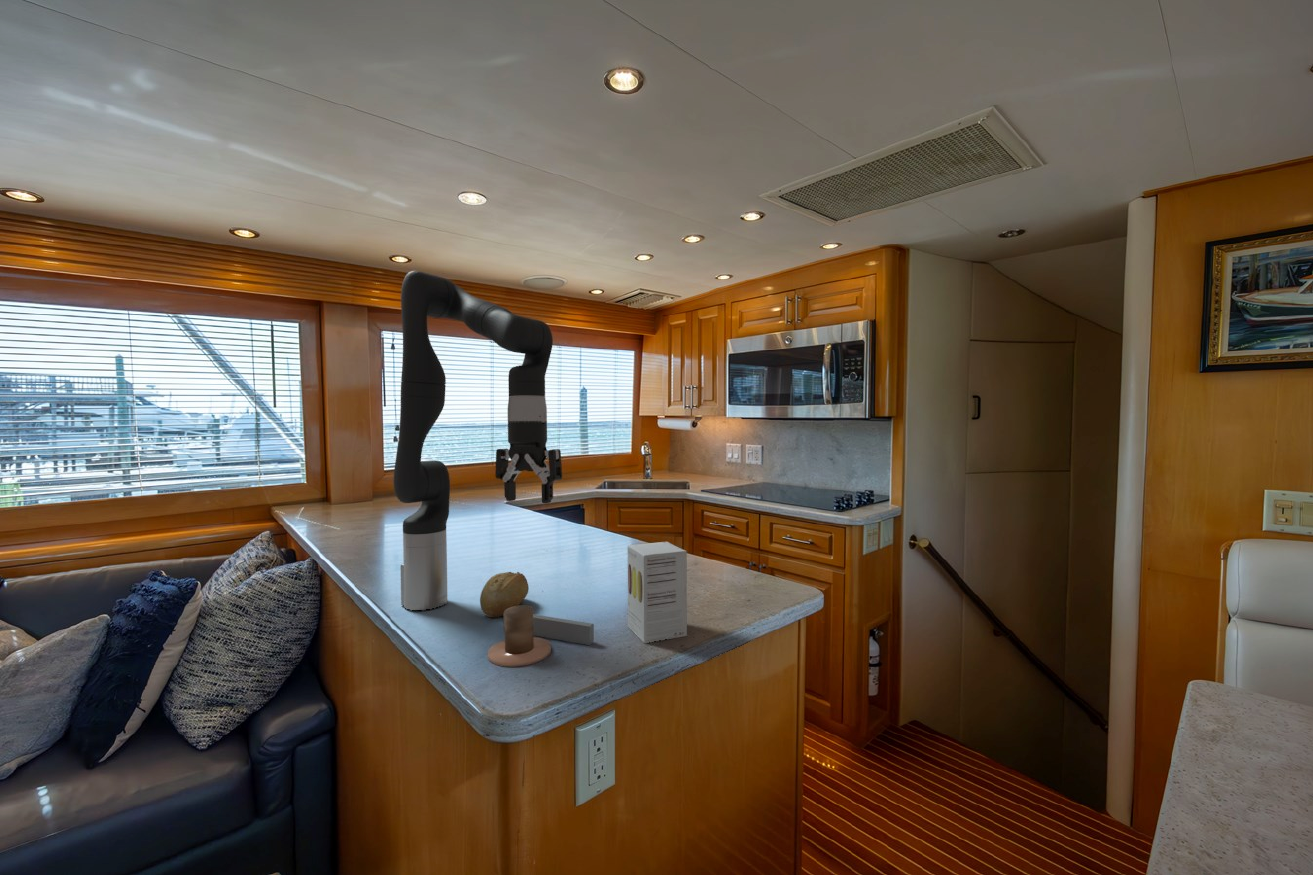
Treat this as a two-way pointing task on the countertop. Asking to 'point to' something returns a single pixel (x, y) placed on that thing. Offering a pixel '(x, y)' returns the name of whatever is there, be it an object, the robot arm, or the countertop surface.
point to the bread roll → (503, 593)
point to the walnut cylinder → (519, 629)
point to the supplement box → (657, 591)
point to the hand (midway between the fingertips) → (528, 501)
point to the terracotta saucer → (512, 660)
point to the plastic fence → (562, 629)
